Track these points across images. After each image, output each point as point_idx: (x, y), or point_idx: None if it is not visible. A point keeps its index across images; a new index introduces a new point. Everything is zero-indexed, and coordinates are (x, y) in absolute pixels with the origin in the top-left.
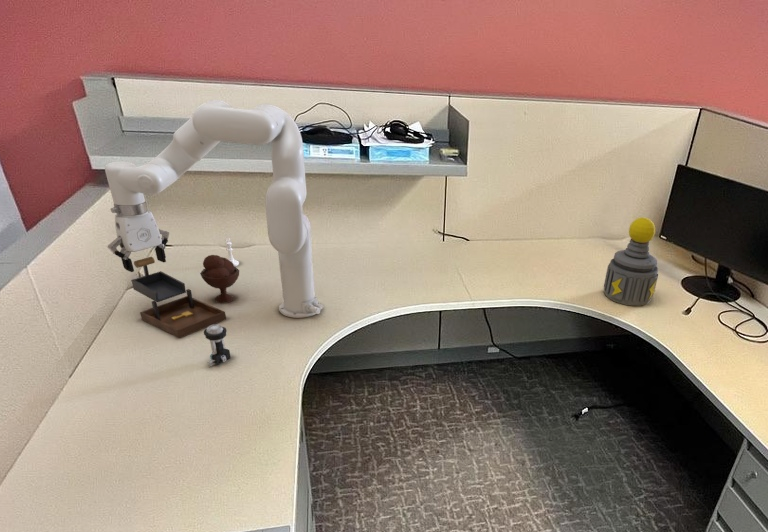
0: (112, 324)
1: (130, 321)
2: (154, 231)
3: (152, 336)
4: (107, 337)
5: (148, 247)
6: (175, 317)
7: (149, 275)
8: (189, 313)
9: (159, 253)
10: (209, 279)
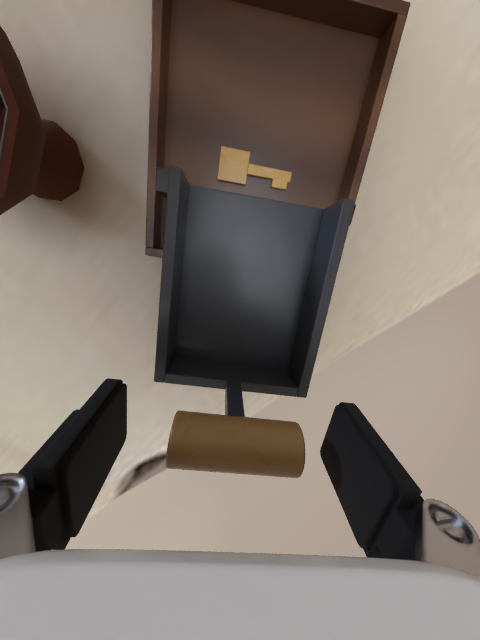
0: (373, 322)
1: (340, 298)
2: None
3: (401, 151)
4: (442, 269)
5: (232, 569)
6: (279, 175)
7: (223, 380)
8: (229, 155)
9: (92, 457)
10: (9, 69)
